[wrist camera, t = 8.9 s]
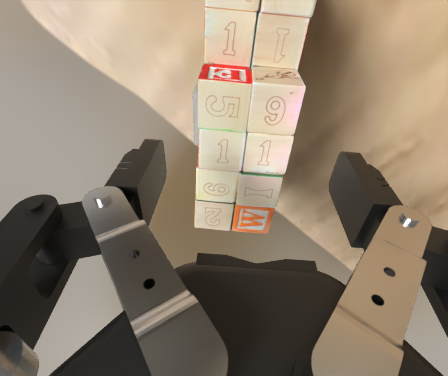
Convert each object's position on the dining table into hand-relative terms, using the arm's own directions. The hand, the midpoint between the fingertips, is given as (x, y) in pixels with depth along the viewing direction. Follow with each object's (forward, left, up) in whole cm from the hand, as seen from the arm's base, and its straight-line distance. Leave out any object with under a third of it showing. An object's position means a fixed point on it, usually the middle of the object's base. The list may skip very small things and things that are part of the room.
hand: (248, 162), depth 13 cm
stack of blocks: (0, -1, -17) cm, 17 cm away
